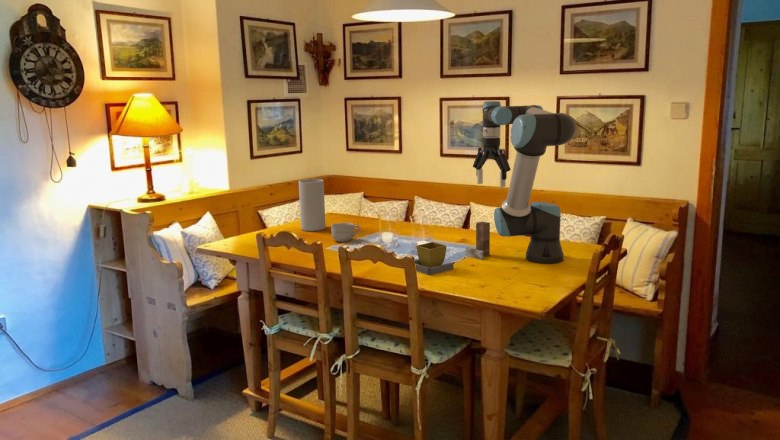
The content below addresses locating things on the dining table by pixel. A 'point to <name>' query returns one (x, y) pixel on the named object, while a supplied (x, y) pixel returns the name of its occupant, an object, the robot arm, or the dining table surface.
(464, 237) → the dining table surface
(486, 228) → the upright post on base
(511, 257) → the dining table surface
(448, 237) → the dining table surface
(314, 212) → the cylinder vase
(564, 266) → the dining table surface
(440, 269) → the tray
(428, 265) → the flower pot
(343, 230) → the teacup
